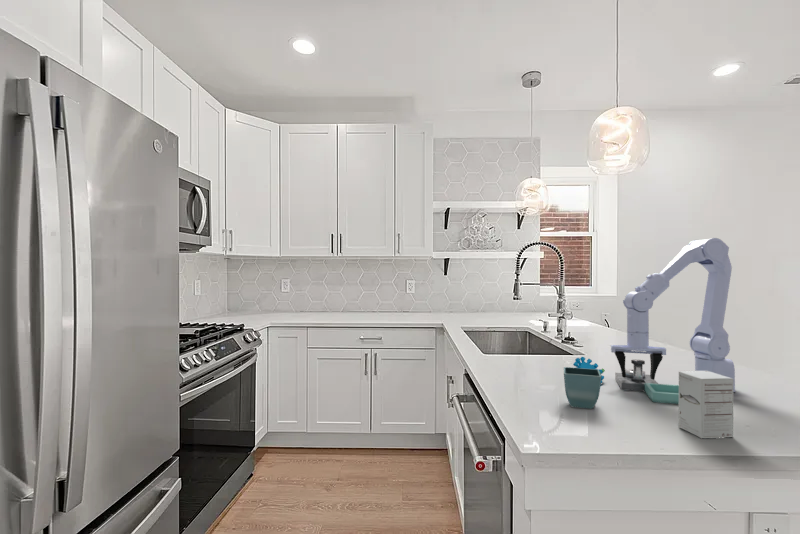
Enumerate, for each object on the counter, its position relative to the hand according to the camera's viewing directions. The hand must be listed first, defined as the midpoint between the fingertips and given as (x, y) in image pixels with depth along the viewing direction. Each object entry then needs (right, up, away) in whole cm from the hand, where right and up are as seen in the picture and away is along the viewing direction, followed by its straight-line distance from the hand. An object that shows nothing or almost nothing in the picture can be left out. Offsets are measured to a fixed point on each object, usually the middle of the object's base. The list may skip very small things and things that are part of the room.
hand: (637, 377), depth 139 cm
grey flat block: (+1, -3, +3) cm, 4 cm away
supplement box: (-5, -3, -38) cm, 39 cm away
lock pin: (0, -3, 0) cm, 3 cm away
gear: (-12, -3, +6) cm, 14 cm away
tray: (+4, -3, -12) cm, 13 cm away
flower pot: (-24, -3, -18) cm, 30 cm away
